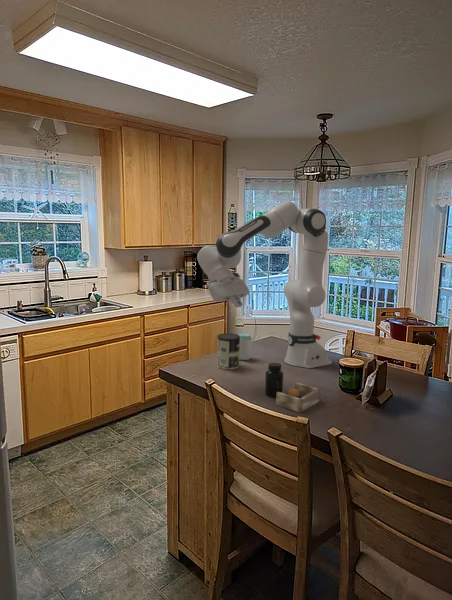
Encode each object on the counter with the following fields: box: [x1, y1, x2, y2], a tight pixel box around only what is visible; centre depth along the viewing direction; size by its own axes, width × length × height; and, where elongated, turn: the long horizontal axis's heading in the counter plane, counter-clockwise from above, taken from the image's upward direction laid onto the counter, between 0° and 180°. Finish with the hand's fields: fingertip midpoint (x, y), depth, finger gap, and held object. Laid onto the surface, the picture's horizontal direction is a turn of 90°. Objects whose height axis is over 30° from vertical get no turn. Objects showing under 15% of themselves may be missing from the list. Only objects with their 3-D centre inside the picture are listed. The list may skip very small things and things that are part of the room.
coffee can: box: [216, 332, 240, 370], centre depth 195 cm, size 10×10×14 cm
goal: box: [275, 382, 322, 413], centre depth 157 cm, size 10×14×4 cm
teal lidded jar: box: [237, 332, 252, 361], centre depth 207 cm, size 7×7×12 cm
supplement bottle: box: [264, 362, 284, 398], centre depth 164 cm, size 7×7×12 cm
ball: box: [287, 388, 299, 398], centre depth 160 cm, size 4×4×4 cm
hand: (239, 306), depth 174 cm, fingers closed
